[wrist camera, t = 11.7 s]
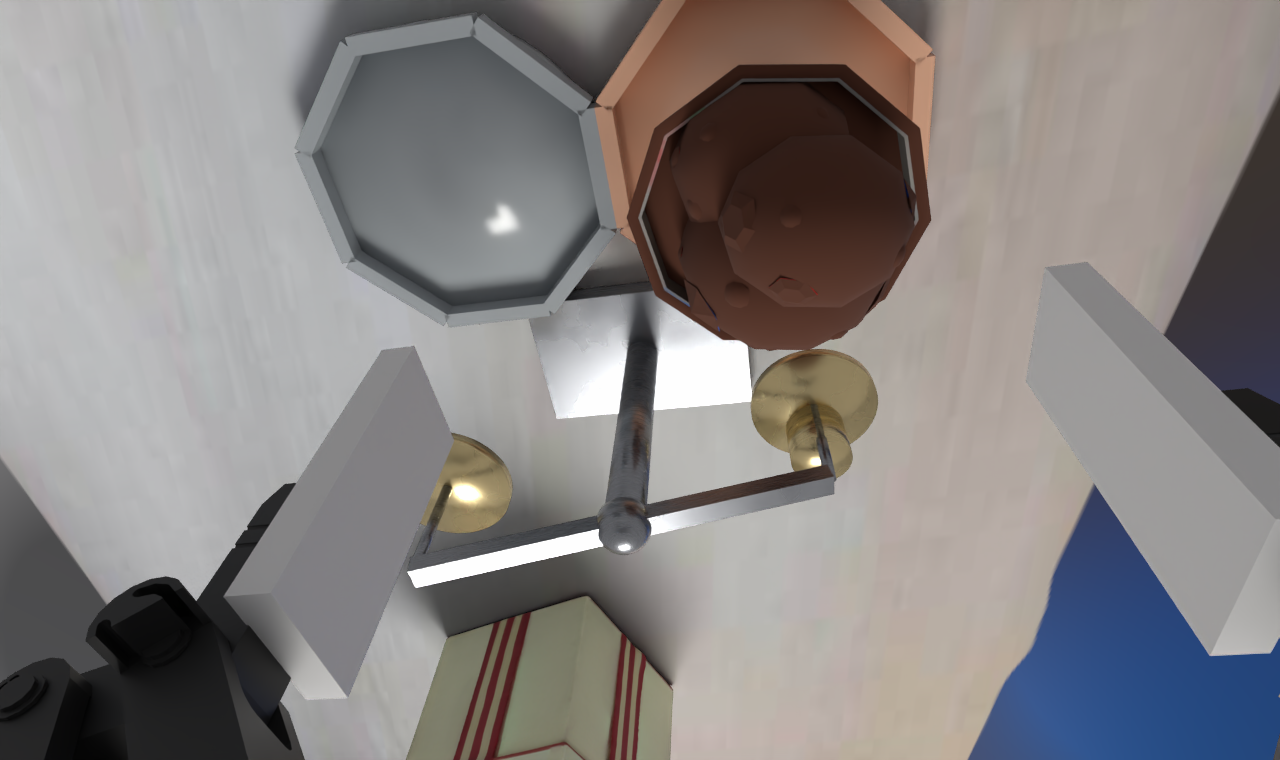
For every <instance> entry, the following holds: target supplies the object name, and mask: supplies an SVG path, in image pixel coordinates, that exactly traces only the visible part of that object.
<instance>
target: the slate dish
mask: <svg viewBox="0 0 1280 760" xmlns="http://www.w3.org/2000/svg"><path fill="white" fill-rule="evenodd" d="M592 99H593V97H592V96H591V95H590V94H589V93H587V92H586V91H585V90H583V89H582V88H581V87H579V86H578V85H577V84H575V83H574V82H573V81H571V80H570V79H569V77H568V76H567V75H566V74H565V73H564V72H563V71H562V70H561V69H560V68H559V67H558V66H557V65H556V64H555V63H554V62H552V61H551V60H550V59H549V58H548V57H547V56H545V55H544V54H543V53H542V52H540V51H539V50H537V49H536V48H534V47H533V46H531V45H530V44H528V43H527V42H525V41H524V40H522V39H520V38H518V37H516V36H514V35H512V34H510V33H508V32H507V31H505V30H504V29H503V28H501V27H500V26H499V25H498V24H496V23H495V22H494V21H492V20H491V19H490V18H488V17H487V16H486V15H484V14H482V15H480V16H479V17H478V14H477V12H474V13H469V14H463V15H457V16H452V17H446V18H439V19H429V20H420V21H416V22H412V23H408V24H404V25H401V26H395V27H389V28H384V29H378V30H372V31H367V32H361V33H355V34H352V35H350V36H347V37H345V39H344V40H342V41H340V43H339V45H338V47H337V50H336V52H335V54H334V57H333V59H332V61H331V64H330V66H329V68H328V71H327V73H326V75H325V78H324V80H323V83H322V85H321V87H320V90H319V92H318V94H317V97H316V99H315V101H314V104H313V106H312V108H311V111H310V113H309V115H308V118H307V120H306V122H305V125H304V127H303V129H302V132H301V134H300V136H299V139H298V141H297V143H296V146H295V149H297V150H298V152H297V153H295V156H296V158H297V160H298V163H299V165H300V167H301V169H302V172H303V174H304V176H305V179H306V181H307V183H308V186H309V188H310V190H311V193H312V195H313V197H314V200H315V202H316V204H317V207H318V209H319V211H320V214H321V216H322V218H323V220H324V223H325V225H326V227H327V230H328V232H329V234H330V237H331V239H332V241H333V244H334V246H335V248H336V251H337V253H338V255H339V258H340V260H341V262H342V263H348V265H347V267H346V268H347V269H349V270H351V271H352V272H354V273H356V274H357V275H359V276H361V277H362V278H364V279H366V280H367V281H369V282H371V283H372V284H374V285H376V286H377V287H379V288H381V289H382V290H384V291H386V292H387V293H389V294H391V295H392V296H394V297H396V298H397V299H399V300H401V301H402V302H404V303H406V304H407V305H409V306H411V307H412V308H414V309H416V310H417V311H419V312H421V313H422V314H424V315H426V316H427V317H429V318H431V319H432V320H434V321H436V322H437V323H439V324H441V325H442V326H444V325H445V323H446V322H447V324H448V327H457V326H466V325H475V324H484V323H493V322H502V321H511V320H520V319H529V318H537V317H546V316H551V313H552V312H553V313H554V314H555V313H556V311H557V310H558V309H559V307H560V306H561V305H562V303H563V302H564V301H565V299H566V298H567V297H568V295H569V294H570V293H571V292H572V290H573V289H574V288H575V286H576V285H577V284H578V282H579V281H580V280H581V278H582V277H583V276H584V274H585V273H586V272H587V271H588V269H589V268H590V267H591V265H592V264H593V263H594V261H595V260H596V259H597V257H598V256H599V255H600V253H601V252H602V251H603V249H604V248H605V247H606V246H607V244H608V243H609V242H610V240H611V239H612V238H613V236H614V235H615V234H616V230H617V226H616V221H615V216H614V210H613V205H612V200H611V194H610V189H609V184H608V178H607V173H606V168H605V162H604V157H603V152H602V146H601V141H600V136H599V131H598V125H597V120H596V115H595V109H594V108H595V105H596V103H591V101H592ZM590 103H591V104H590Z"/></svg>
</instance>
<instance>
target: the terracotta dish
mask: <svg viewBox="0 0 1280 760" xmlns="http://www.w3.org/2000/svg"><path fill="white" fill-rule="evenodd" d="M932 50H933V49H932V48H931V47H930V46H929V45H928V44H927V43H926V42H924V41H923V40H922V39H921V38H920V37H919V36H918V35H917V34H916V33H915V32H914V31H913V30H912V29H911V28H910V27H909V26H908V25H906V24H905V23H904V22H903V21H902V20H901V19H900V18H899V17H898V16H897V15H896V14H895V13H894V12H893V11H892V10H891V9H889V8H888V7H887V6H886V5H885V4H884V3H883V2H882V1H881V0H661V2H660V3H659V5H658V6H657V8H656V9H655V11H654V12H653V14H652V15H651V17H650V18H649V20H648V21H647V23H646V24H645V26H644V27H643V29H642V30H641V32H640V33H639V34H638V35H637V37H636V38H635V40H634V42H633V43H632V45H631V47H630V49H629V50H628V52H627V53H626V55H625V56H624V58H623V59H622V61H621V62H620V64H619V65H618V67H617V68H616V70H615V71H614V73H613V74H612V76H611V77H610V79H609V80H608V82H607V83H606V85H605V86H604V88H603V89H602V91H601V92H600V94H599V96H598V97H597V99H596V102H597V103H596V105H595V108H594V109H595V115H596V120H597V125H598V131H599V136H600V141H601V146H602V152H603V157H604V162H605V168H606V173H607V178H608V184H609V189H610V194H611V200H612V205H613V210H614V216H615V221H616V226H617V228H621V230H620V233H621V234H622V235H624V236H625V237H626V238H628V239H629V240H631V241H632V242H634V243H635V244H636V242H635V239H634V237H633V234H632V231H631V229H630V226H629V223H628V221H627V215H628V211H629V208H630V205H631V202H632V198H633V195H634V192H635V189H636V186H637V182H638V179H639V176H640V173H641V170H642V166H643V163H644V160H645V157H646V153H647V150H648V147H649V144H650V141H651V137H652V134H653V131H654V128H655V127H657V126H658V125H659V124H660V123H661V122H663V121H664V120H665V119H667V118H668V117H669V116H671V115H672V114H673V113H675V112H676V111H677V110H679V109H680V108H681V107H683V106H684V105H685V104H687V103H688V102H689V101H691V100H692V99H693V98H695V97H696V96H697V95H699V94H700V93H701V92H703V91H704V90H705V89H707V88H708V87H709V86H711V85H712V84H713V83H715V82H716V81H717V80H719V79H720V78H721V77H723V76H724V75H725V74H727V73H728V72H729V71H731V70H732V69H733V68H735V67H736V66H737V65H749V64H846V65H847V66H848V67H849V68H850V69H851V70H853V71H854V72H855V73H856V74H857V75H859V76H860V77H861V78H862V79H863V80H864V81H866V82H867V83H868V84H869V85H870V86H871V87H873V88H874V89H875V90H876V91H877V92H878V93H880V94H881V95H882V96H883V97H884V98H885V99H887V100H888V101H889V102H890V103H891V104H892V105H894V106H895V107H896V108H897V109H898V110H900V111H901V112H902V113H903V114H904V115H905V116H907V117H908V118H909V119H910V120H911V121H912V122H914V123H915V124H916V125H917V126H918V127H919V128H920V131H921V139H922V148H923V156H924V164H925V173H926V181H927V168H928V154H929V139H930V125H931V110H932V96H933V82H934V67H935V55H933V54H932V53H930V52H931V51H932Z"/></svg>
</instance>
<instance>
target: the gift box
mask: <svg viewBox="0 0 1280 760" xmlns="http://www.w3.org/2000/svg"><path fill="white" fill-rule="evenodd" d="M672 703H673V689H672V688H671V686H670V685H669V684H668V683H667V682H666V681H665V680H664V679H663V677H662V676H661V675H660V674H658V672H657V671H656V670H655V669H654V668H653V667H652V666H651V665H650V663H649V662H648V661H647V660H646V656H645V655H644V654H643V653H642V652H641V651H639V650H638V649H637V648H635V647H634V646H633V645H632V644H631V642H630V641H629V640H628V639H627V637H626V636H625V635H624V634H623V633H622V632H621V631H620V630H619V629H618V628H617V627H616V626H615V624H614V623H613V622H612V621H611V620H610V619H609V618H608V617H607V616H606V614H605V613H604V612H603V611H602V610H601V609H600V608H599V607H598V606H597V604H596V603H595V602H594V601H593V600H592V599H591V598H590V597H588V596H584V597H579V598H576V599H573V600H569V601H566V602H562V603H559V604H556V605H553V606H549V607H546V608H543V609H539V610H536V611H533V612H528V613H525V614H522V615H519V616H515V617H512V618H508V619H505V620H502V621H499V622H496V623H493V624H490V625H487V626H483V627H480V628H477V629H474V630H471V631H468V632H464V633H461V634H458V635H454V636H451V637H449V638H447V640H446V642H445V645H444V648H443V651H442V654H441V657H440V660H439V663H438V666H437V669H436V672H435V675H434V678H433V681H432V684H431V687H430V690H429V693H428V696H427V699H426V702H425V705H424V708H423V711H422V714H421V717H420V720H419V723H418V726H417V729H416V732H415V735H414V738H413V741H412V744H411V746H410V749H409V752H408V755H407V758H406V760H670V752H671V726H672Z"/></svg>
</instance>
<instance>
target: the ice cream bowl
mask: <svg viewBox="0 0 1280 760" xmlns="http://www.w3.org/2000/svg"><path fill="white" fill-rule="evenodd" d="M627 221H628V223H629V226H630V229H631V231H632V234H633V237H634V239H635V242H636V245H637V248H638V250H639V253H640V256H641V258H642V261H643V264H644V266H645V269H646V272H647V275H648V277H649V280H650V283H651V285H652V288H653V291H654V293H655V296H656V297H658V298H659V299H661V300H663V301H664V302H666V303H667V304H669V305H670V306H672V307H673V308H675V309H676V310H678V311H679V312H681V313H682V314H684V315H685V316H687V317H688V318H690V319H691V320H693V321H695V322H696V323H698V324H699V325H701V326H702V327H704V328H705V329H707V330H708V331H710V332H711V333H713V334H714V335H716V336H717V337H719V338H720V339H722V340H739V341H741V342H743V343H744V344H746V345H748V346H750V347H752V348H754V349H766V350H769V351H772V350H777V349H778V350H810V349H812V348H814V347H816V346H818V345H820V344H822V343H824V342H826V341H828V340H830V339H831V340H834V339H838V338H841V337H842V336H844V335H845V334H846V333H847V332H848V330H850V329H852V328H854V327H856V326H857V325H858V324H859V323H860V322H861V321H862V320H863V318H864V317H865V315H867V314H868V313H869V312H870V311H871V310H872V309H873V308H874V307H875V306H876V305H877V304H878V303H879V302H881V301H882V300H884V299H885V298H886V297H887V295H888V293H889V292H890V290H891V288H892V286H893V285H894V283H895V281H896V279H897V278H898V276H899V274H900V273H901V271H902V269H903V267H904V266H905V264H906V262H907V261H908V259H909V257H910V255H911V254H912V252H913V250H914V249H915V247H916V245H917V243H918V242H919V240H920V238H921V237H922V235H923V233H924V231H925V230H926V228H927V226H928V225H929V223H930V221H931V215H930V206H929V198H928V190H927V181H926V173H925V164H924V156H923V148H922V139H921V131H920V128H919V127H918V126H917V125H916V124H915V123H914V122H912V121H911V120H910V119H909V118H908V117H907V116H905V115H904V114H903V113H902V112H901V111H900V110H898V109H897V108H896V107H895V106H894V105H892V104H891V103H890V102H889V101H888V100H887V99H885V98H884V97H883V96H882V95H881V94H880V93H878V92H877V91H876V90H875V89H874V88H873V87H871V86H870V85H869V84H868V83H867V82H866V81H864V80H863V79H862V78H861V77H860V76H859V75H857V74H856V73H855V72H854V71H853V70H851V69H850V68H849V67H848V66H847V65H846V64H749V65H737V66H736V67H735V68H733V69H732V70H731V71H729V72H728V73H727V74H725V75H724V76H723V77H721V78H720V79H719V80H717V81H716V82H715V83H713V84H712V85H711V86H709V87H708V88H707V89H705V90H704V91H703V92H701V93H700V94H699V95H697V96H696V97H695V98H693V99H692V100H691V101H689V102H688V103H687V104H685V105H684V106H683V107H681V108H680V109H679V110H677V111H676V112H675V113H673V114H672V115H671V116H669V117H668V118H667V119H665V120H664V121H663V122H661V123H660V124H659V125H658V126H657V127H655V128H654V131H653V134H652V137H651V141H650V144H649V147H648V150H647V153H646V157H645V160H644V163H643V166H642V170H641V173H640V176H639V179H638V182H637V186H636V189H635V192H634V195H633V198H632V202H631V205H630V208H629V211H628V215H627Z"/></svg>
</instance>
